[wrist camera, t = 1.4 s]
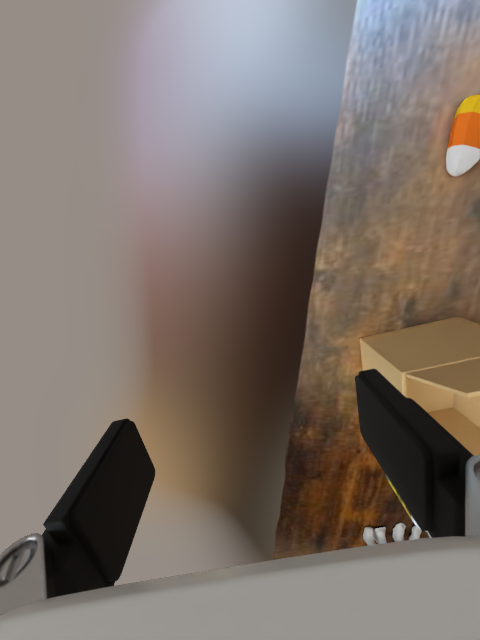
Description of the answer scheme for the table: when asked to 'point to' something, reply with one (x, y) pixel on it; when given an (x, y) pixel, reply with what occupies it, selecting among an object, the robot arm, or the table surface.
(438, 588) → the robot arm
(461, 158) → the candy corn
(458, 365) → the flap
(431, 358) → the carton
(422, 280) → the table surface
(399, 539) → the vertebrae bone
